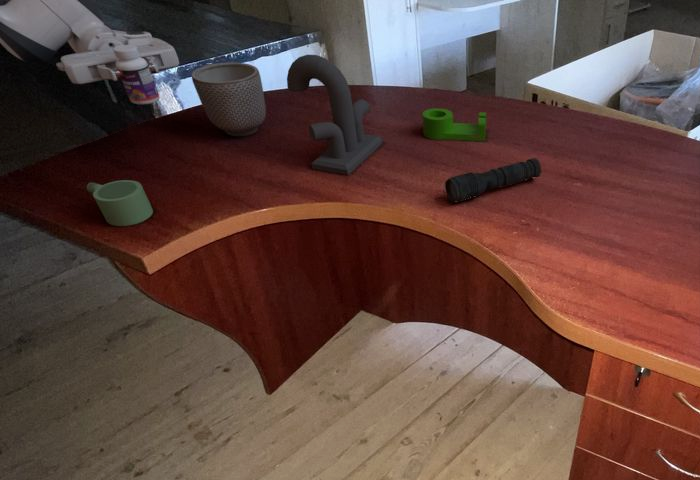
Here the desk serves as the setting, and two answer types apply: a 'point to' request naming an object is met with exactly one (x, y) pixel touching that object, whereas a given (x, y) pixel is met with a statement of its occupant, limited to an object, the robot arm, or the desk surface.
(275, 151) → the desk surface
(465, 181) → the flashlight
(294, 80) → the faucet
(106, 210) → the scoop
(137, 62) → the pill bottle
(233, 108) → the planter
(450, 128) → the tape dispenser
